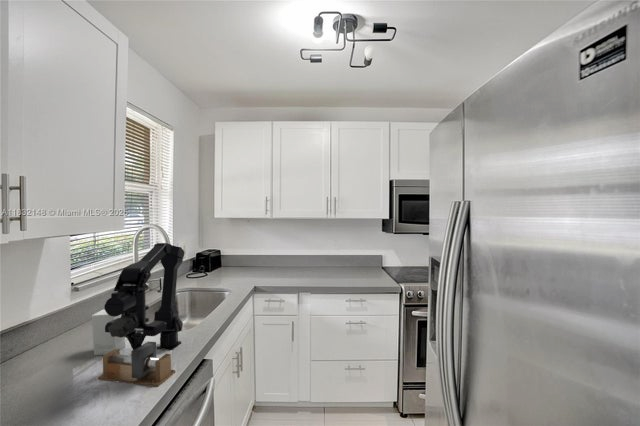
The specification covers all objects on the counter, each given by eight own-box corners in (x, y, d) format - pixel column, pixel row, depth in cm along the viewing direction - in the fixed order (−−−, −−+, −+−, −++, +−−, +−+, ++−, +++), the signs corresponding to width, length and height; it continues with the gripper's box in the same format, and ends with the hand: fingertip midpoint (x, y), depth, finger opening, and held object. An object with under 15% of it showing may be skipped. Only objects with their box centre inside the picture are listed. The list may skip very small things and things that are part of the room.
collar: (131, 377, 95) (131, 351, 95) (148, 365, 103) (148, 341, 102) (140, 378, 95) (139, 352, 95) (156, 366, 102) (156, 342, 102)
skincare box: (125, 347, 120) (124, 308, 120) (114, 355, 113) (114, 314, 113) (104, 347, 120) (103, 308, 119) (92, 355, 113) (91, 314, 113)
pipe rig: (97, 379, 97) (97, 358, 97) (118, 366, 105) (118, 346, 105) (158, 386, 93) (157, 364, 93) (175, 372, 101) (174, 351, 101)
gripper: (88, 312, 93) (89, 362, 93) (141, 316, 89) (142, 368, 89) (119, 300, 104) (120, 345, 104) (167, 304, 100) (167, 350, 100)
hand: (136, 352), depth 99 cm, fingers closed
